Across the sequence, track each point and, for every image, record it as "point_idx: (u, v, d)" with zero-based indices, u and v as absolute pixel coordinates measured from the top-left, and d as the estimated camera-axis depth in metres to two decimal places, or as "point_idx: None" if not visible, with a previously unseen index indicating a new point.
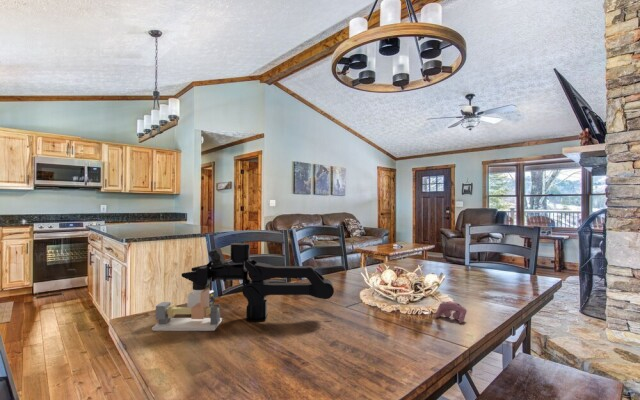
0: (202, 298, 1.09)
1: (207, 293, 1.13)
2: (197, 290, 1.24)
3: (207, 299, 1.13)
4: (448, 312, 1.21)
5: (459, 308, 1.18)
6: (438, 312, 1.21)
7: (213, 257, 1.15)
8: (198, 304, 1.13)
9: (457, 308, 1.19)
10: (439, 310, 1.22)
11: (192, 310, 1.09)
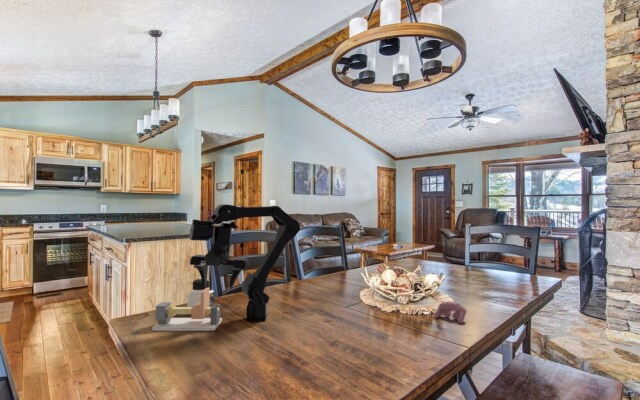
0: (202, 298, 1.09)
1: (207, 293, 1.13)
2: (197, 290, 1.24)
3: (207, 299, 1.13)
4: (448, 312, 1.21)
5: (459, 308, 1.18)
6: (438, 312, 1.21)
7: (227, 258, 1.07)
8: (198, 304, 1.13)
9: (457, 308, 1.18)
10: (439, 310, 1.21)
11: (192, 310, 1.09)
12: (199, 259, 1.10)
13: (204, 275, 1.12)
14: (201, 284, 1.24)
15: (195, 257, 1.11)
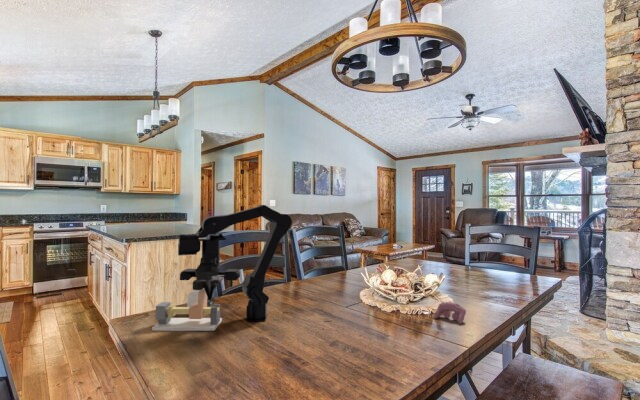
0: (200, 298, 1.09)
1: (205, 293, 1.13)
2: (197, 290, 1.24)
3: (205, 299, 1.13)
4: (447, 313, 1.21)
5: (458, 309, 1.18)
6: (437, 313, 1.20)
7: (218, 271, 1.06)
8: (196, 304, 1.13)
9: (456, 309, 1.18)
10: (438, 311, 1.21)
11: (190, 310, 1.09)
12: (189, 274, 1.09)
13: (208, 289, 1.12)
14: (201, 284, 1.24)
15: (185, 272, 1.10)
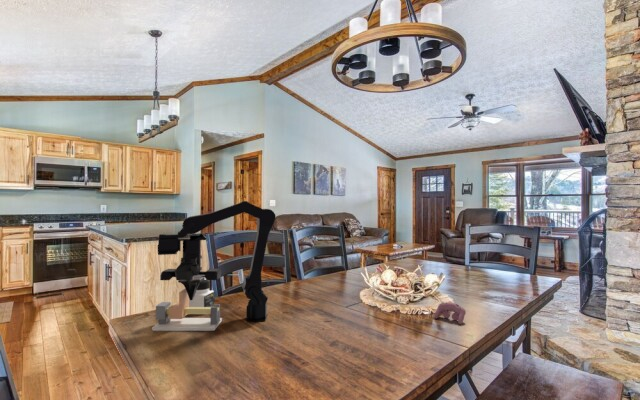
0: (181, 298, 1.09)
1: (186, 293, 1.13)
2: (197, 290, 1.24)
3: (186, 299, 1.13)
4: (447, 313, 1.20)
5: (458, 309, 1.17)
6: (437, 313, 1.20)
7: (198, 271, 1.06)
8: (177, 304, 1.13)
9: (456, 309, 1.18)
10: (438, 311, 1.21)
11: (171, 310, 1.09)
12: (170, 274, 1.09)
13: (190, 289, 1.11)
14: (201, 284, 1.24)
15: (165, 272, 1.09)
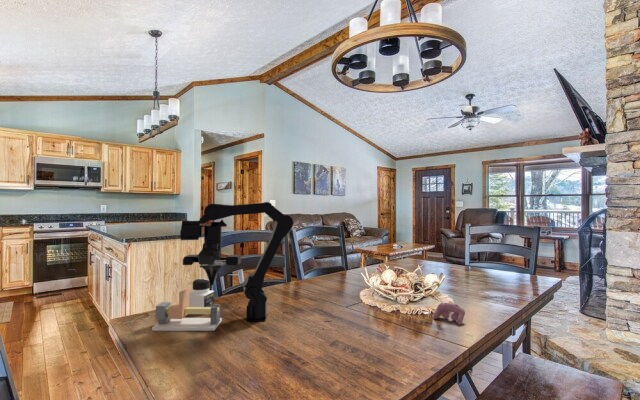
0: (181, 298, 1.09)
1: (186, 293, 1.13)
2: (197, 290, 1.24)
3: (186, 299, 1.13)
4: (446, 313, 1.20)
5: (457, 309, 1.17)
6: (436, 313, 1.20)
7: (220, 256, 1.09)
8: (177, 304, 1.13)
9: (455, 309, 1.17)
10: (437, 311, 1.20)
11: (171, 310, 1.09)
12: (192, 259, 1.12)
13: (210, 274, 1.15)
14: (201, 284, 1.24)
15: (187, 257, 1.13)
